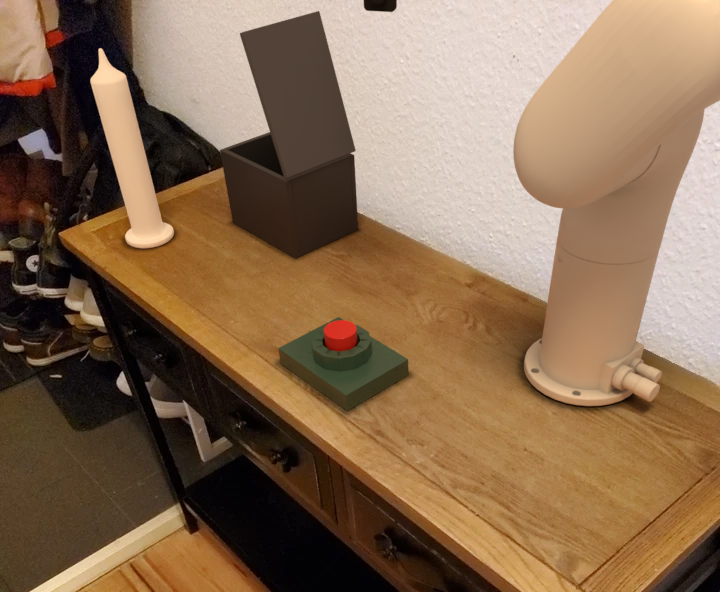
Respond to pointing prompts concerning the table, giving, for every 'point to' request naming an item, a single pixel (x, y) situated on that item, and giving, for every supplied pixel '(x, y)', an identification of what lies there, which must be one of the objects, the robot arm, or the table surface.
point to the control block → (344, 366)
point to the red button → (340, 335)
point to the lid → (299, 92)
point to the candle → (128, 157)
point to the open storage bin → (289, 197)
